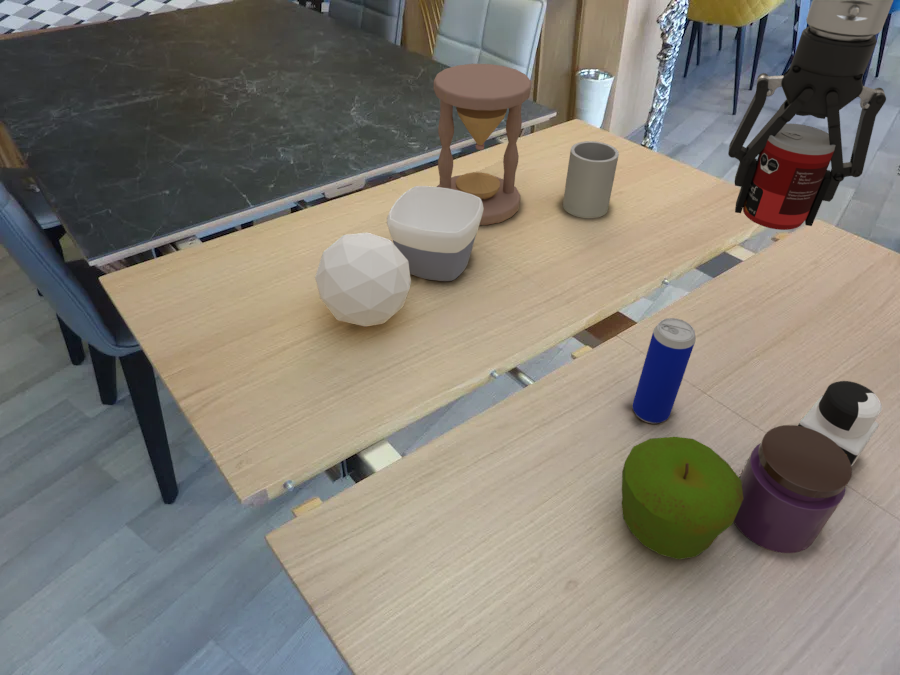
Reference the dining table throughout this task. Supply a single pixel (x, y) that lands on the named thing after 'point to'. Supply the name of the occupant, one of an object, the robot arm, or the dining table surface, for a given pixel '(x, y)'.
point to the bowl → (435, 230)
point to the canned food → (788, 177)
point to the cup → (590, 179)
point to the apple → (678, 495)
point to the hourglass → (482, 130)
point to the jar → (791, 488)
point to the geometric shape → (363, 279)
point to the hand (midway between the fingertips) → (772, 214)
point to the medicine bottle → (845, 416)
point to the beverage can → (663, 369)
